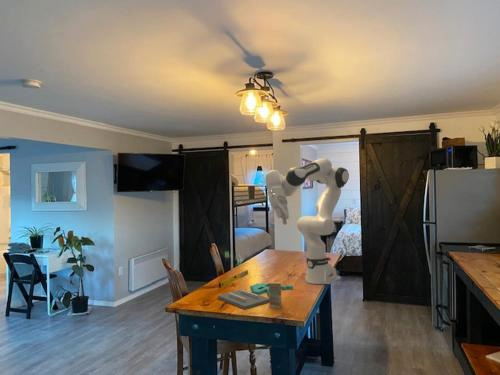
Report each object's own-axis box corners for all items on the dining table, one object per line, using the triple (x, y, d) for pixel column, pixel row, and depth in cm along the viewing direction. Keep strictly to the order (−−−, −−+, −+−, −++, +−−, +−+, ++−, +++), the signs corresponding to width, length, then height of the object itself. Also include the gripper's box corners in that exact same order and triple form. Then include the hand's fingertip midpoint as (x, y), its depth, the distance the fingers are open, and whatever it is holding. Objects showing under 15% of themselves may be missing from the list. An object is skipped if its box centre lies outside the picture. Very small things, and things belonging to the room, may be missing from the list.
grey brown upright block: (270, 303, 178) (270, 281, 178) (281, 304, 177) (281, 281, 177) (269, 307, 173) (268, 284, 173) (280, 307, 172) (279, 284, 172)
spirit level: (220, 288, 210) (220, 283, 210) (219, 287, 211) (218, 282, 211) (248, 274, 240) (248, 270, 240) (246, 274, 240) (246, 269, 240)
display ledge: (242, 291, 200) (242, 286, 200) (270, 301, 181) (270, 295, 181) (217, 298, 190) (217, 292, 190) (245, 309, 171) (244, 303, 171)
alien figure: (292, 289, 202) (264, 284, 215) (292, 285, 202) (264, 280, 215) (272, 299, 187) (242, 292, 200) (271, 294, 187) (242, 288, 200)
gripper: (276, 186, 180) (281, 210, 173) (288, 203, 197) (293, 226, 189) (264, 190, 182) (269, 214, 174) (277, 206, 198) (282, 229, 191)
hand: (282, 220), depth 182 cm, fingers open, 8 cm apart
